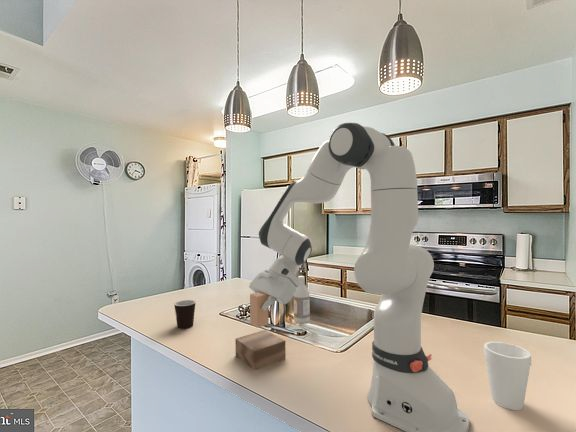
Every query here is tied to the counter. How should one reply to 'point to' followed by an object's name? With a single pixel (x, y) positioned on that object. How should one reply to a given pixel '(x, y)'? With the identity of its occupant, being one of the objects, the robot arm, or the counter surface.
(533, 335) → the counter surface
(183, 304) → the coffee mug
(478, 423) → the counter surface
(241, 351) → the walnut block
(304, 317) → the bath foam
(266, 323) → the light wooden block
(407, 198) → the robot arm
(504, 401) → the foam cup
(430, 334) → the counter surface
